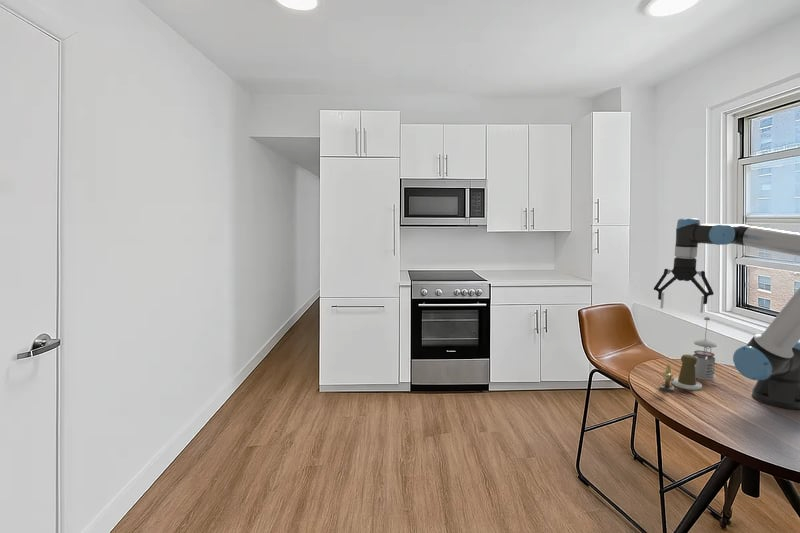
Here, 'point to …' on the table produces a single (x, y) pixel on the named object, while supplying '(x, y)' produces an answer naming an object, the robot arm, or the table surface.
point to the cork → (688, 370)
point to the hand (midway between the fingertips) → (681, 310)
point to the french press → (701, 368)
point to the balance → (667, 379)
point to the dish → (688, 387)
